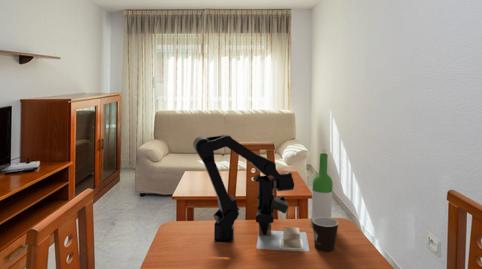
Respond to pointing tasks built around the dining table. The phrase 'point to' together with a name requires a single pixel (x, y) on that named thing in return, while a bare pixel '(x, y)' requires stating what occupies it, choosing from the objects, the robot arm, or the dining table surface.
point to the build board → (280, 242)
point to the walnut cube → (267, 231)
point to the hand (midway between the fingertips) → (265, 231)
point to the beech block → (291, 237)
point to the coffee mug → (325, 233)
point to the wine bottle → (322, 191)
